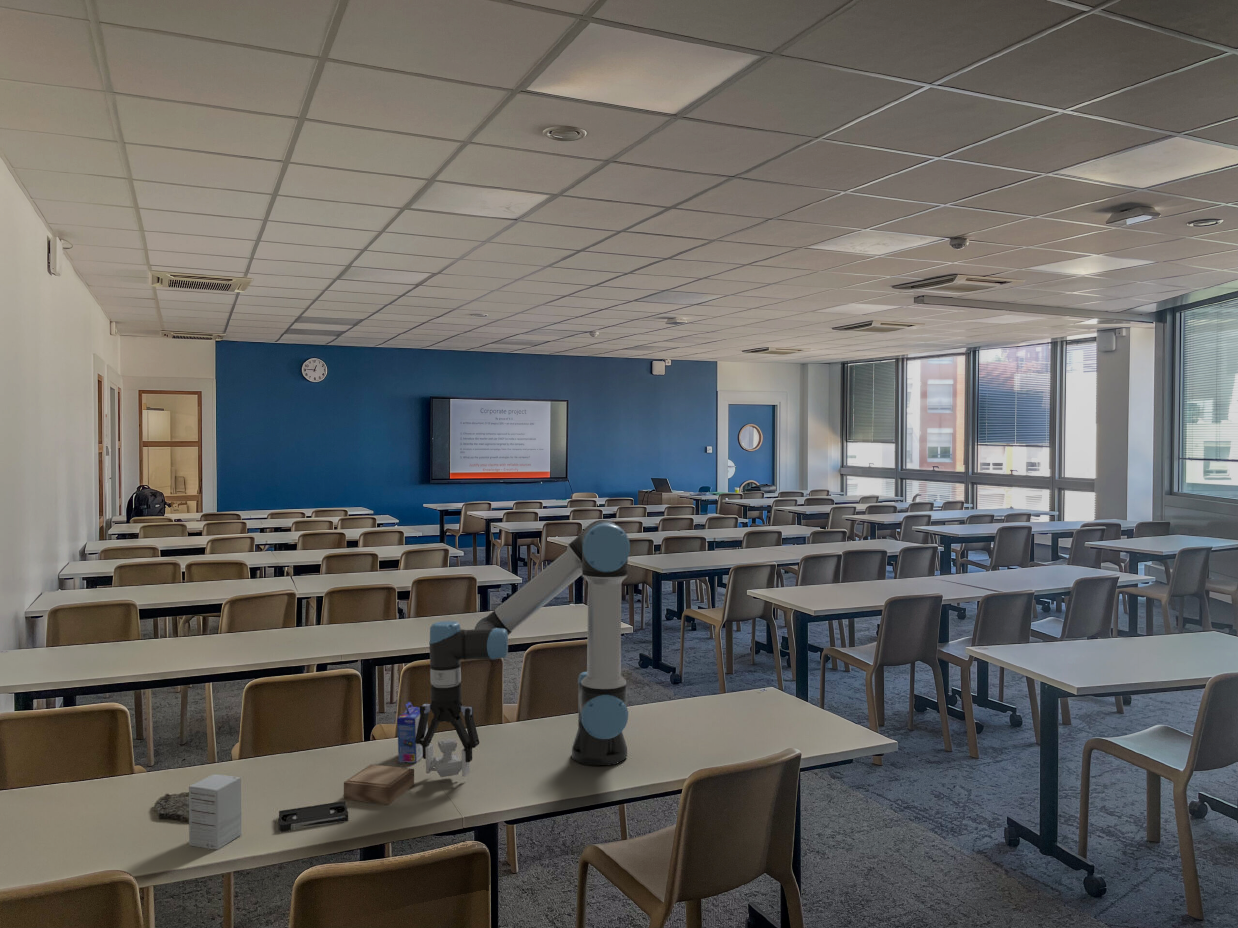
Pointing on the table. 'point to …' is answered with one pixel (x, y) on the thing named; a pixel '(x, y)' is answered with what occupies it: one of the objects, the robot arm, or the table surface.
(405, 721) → the ink cartridge box
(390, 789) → the plinth
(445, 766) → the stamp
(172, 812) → the stone slab
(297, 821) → the vhs tape
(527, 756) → the table surface
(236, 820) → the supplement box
